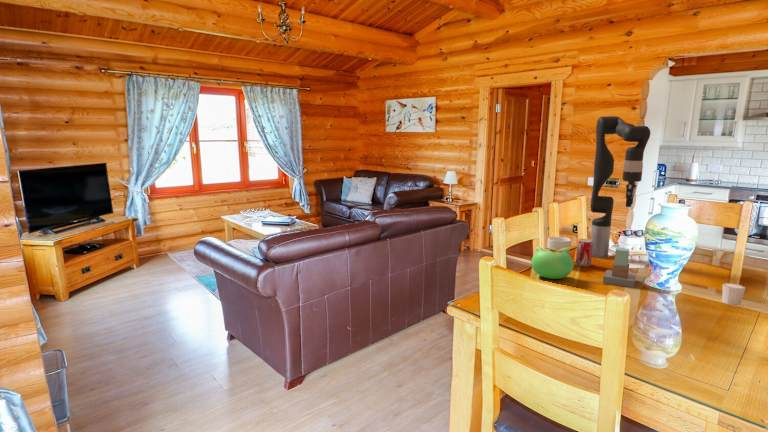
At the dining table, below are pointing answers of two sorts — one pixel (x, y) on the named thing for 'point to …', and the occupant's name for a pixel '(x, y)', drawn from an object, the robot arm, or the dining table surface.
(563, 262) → the green round pot
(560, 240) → the mug
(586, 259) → the soda can
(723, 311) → the dining table surface
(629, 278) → the slate base
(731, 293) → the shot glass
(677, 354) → the dining table surface
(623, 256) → the teal block
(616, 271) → the walnut block
